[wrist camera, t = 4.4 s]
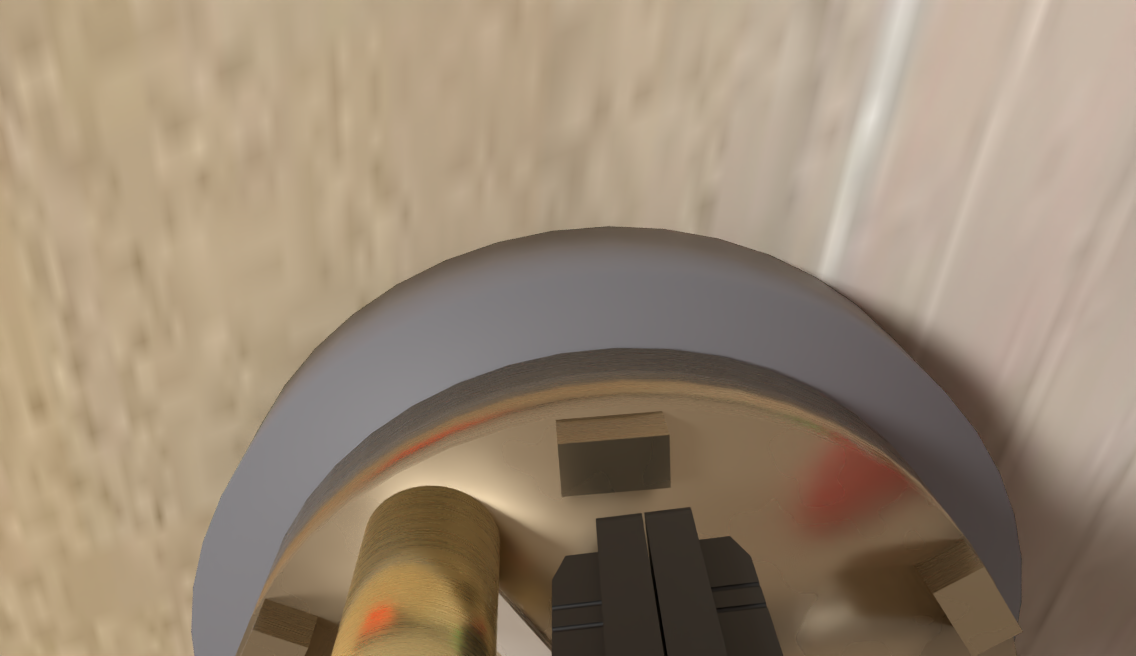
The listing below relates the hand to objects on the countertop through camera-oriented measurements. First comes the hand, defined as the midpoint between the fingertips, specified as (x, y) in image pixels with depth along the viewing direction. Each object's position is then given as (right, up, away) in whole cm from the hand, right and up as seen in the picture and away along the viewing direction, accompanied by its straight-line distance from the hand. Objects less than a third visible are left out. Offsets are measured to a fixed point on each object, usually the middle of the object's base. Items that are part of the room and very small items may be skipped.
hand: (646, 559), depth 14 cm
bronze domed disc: (0, -4, +7) cm, 8 cm away
